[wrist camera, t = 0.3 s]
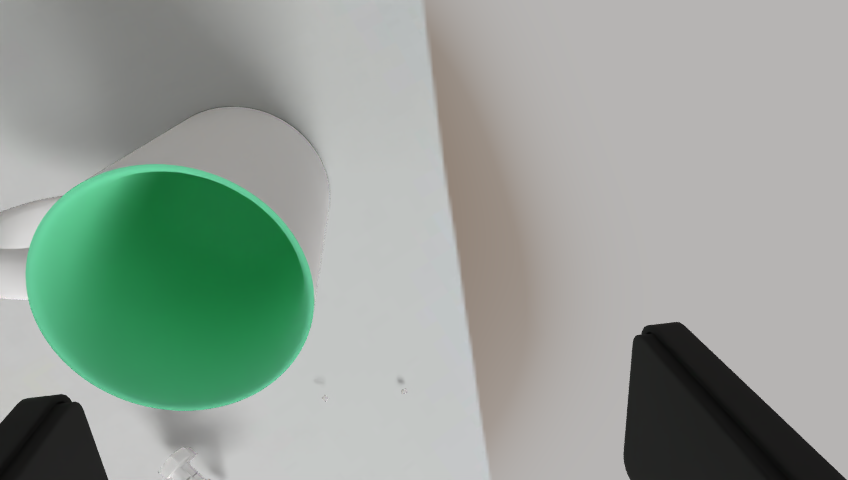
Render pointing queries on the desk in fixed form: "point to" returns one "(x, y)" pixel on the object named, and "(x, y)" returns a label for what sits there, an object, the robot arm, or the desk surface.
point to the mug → (179, 262)
